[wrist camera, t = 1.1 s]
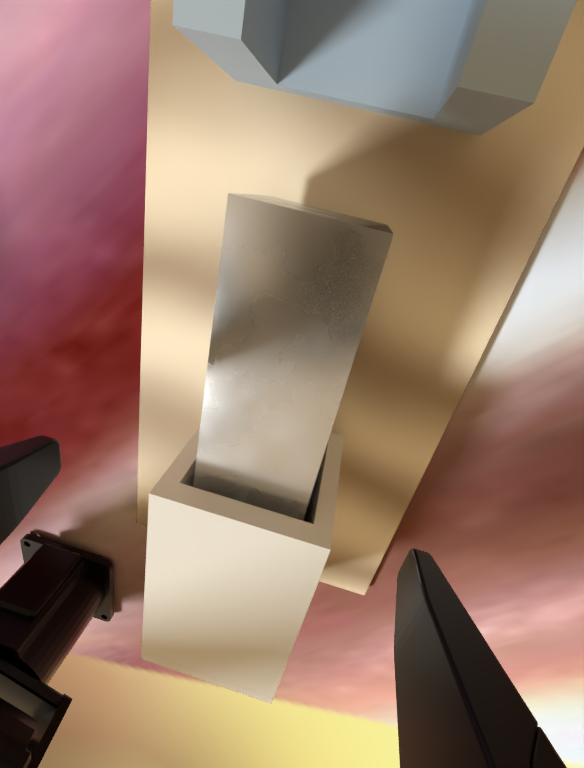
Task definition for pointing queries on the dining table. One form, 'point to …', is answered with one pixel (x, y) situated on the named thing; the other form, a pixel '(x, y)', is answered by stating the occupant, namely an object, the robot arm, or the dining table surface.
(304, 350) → the extension bar
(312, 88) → the socket
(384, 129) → the base board
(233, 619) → the sleeve
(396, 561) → the dining table surface
